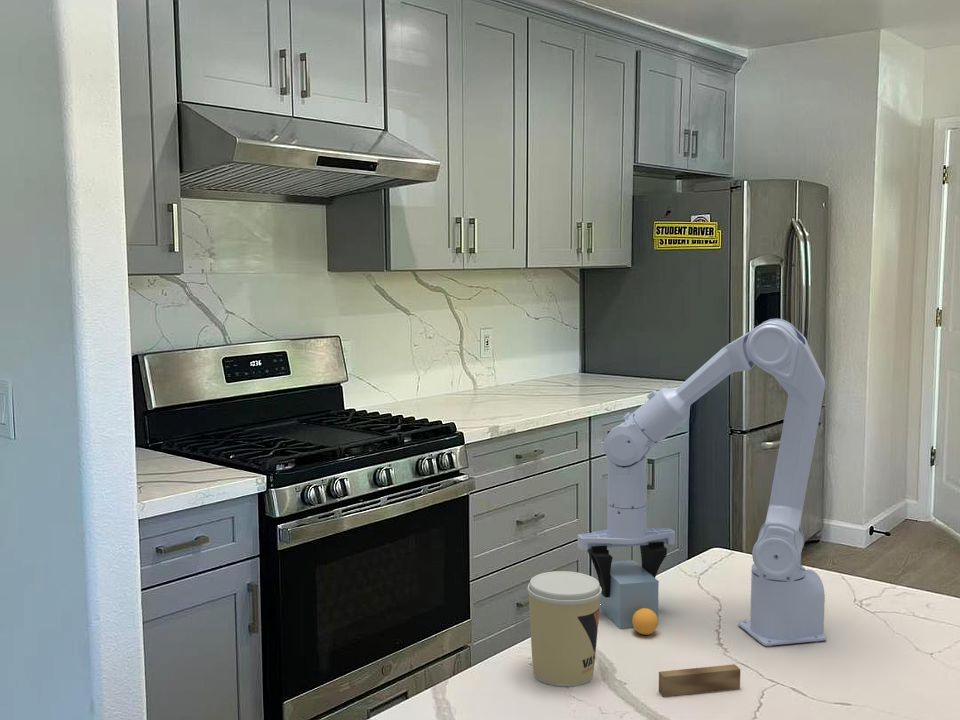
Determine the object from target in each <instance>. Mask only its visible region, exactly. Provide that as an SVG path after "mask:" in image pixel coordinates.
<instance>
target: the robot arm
mask: <svg viewBox="0 0 960 720" xmlns="http://www.w3.org/2000/svg"><path fill="white" fill-rule="evenodd" d="M755 366H757V367H758V368H759V369H762V370H763V371H764V372H766V373H768V374H769V375H771V376H773V377H774V379H775V380H776V381H777V382H778V383H779V385H780V386H781V387H782V388H783V390H784V391H785V392H786V393H787V401H786V405H785V406H786V407H785V412H784V416H783V417H784V418H783V423H782V429H781V430H782V431H781V434H780V441H779V447H778V451H777V452H778V453H777V457H776V464H775V468H774V469H775V470H774V475H773V481H772V486H771V492H770V498H769V503H768V507H767V513H766V516H765V517H766V518H765V522H764V523H763V524H762V525H761V527H760V528H759V531H758V535H757V540H756V542H755V543H754V545H753V548H752V552H751V553H752V555H751V556H752V561H753V564H752V565H751V575H750V577H751V578H750V581H751V582H750V584H751V585H750V613H749V614H750V619H749V620H742V621H738V624H737V625H738V626H739V628H742V629H743V630H744V631H745V632H746V633H748V634H749V635H750V636H751V637H752V638H753V639H755V640H756V641H758V643H760V644H762V645H763V646H765V647H768V646H769V647H770V646H778V645H789V644H799V643H811V642H821V641H822V642H823V641H826V640H827V636H826V635H825V634H824V631H825V630H824V629H825V628H824V626H825V602H826V600H825V599H826V598H825V597H826V596H825V595H826V594H825V589H824V588H825V587H824V584H823V582H822V581H823V580H822V579H821V577H820V576H819V573H817V572H816V571H815V570H812V569H806V567H804V566H803V565H802V563H801V562H802V550H803V549H804V546H805V535H804V533H803V530H802V518H803V517H802V516H803V510H804V504H805V500H806V493H807V488H808V482H809V478H810V477H809V476H810V472H811V466H812V461H813V455H814V450H815V443H816V439H817V434H818V428H819V422H820V416H821V411H822V405H823V400H824V394H825V389H826V381H825V377H824V375H823V374H822V371H821V369H820V367H819V364H818V363H817V361H816V358H815V356H814V354H813V352H812V350H811V347H810V345H809V343H808V340H807V338H806V337H805V336H804V334H803V333H801V332H800V330H798V328H796V327H795V326H794V324H792V323H791V322H789V321H787V320H785V319H783V318H782V319H781V318H770V319H768V320H767V319H766V320H765V321H762V323H760V324H759V325H757V326H756V327H754V328H753V329H752V330H750V331H748V332H746V333H745V334H743V335H741V336H740V337H738V338H736V339H734V340H733V341H730V343H728V344H727V345H725V346H723V347H722V348H721V349H720V350H719V351H717V353H715V354H714V355H713V356H712V357H711V358H710V359H709V360H707V361H706V362H705V363H704V364H703V365H702V366H701V367H700V368H698V369H697V370H696V371H695V372H694V373H692V375H690V376H689V377H687V379H685V381H684V382H683V383H681V384H680V385H679V386H678V387H677V388H669V387H662V388H660V390H658V391H657V390H656V389H654V390H652V391H651V392H650V393H648V394H647V396H646V397H647V400H646V401H645V402H644V403H642V405H640V407H638V408H637V409H635V410H634V411H633V412H632V413H631V412H627V413H626V414H625V415H624V416H623V418H622V419H623V420H624V422H622V423H620V424H618V425H616V426H614V427H612V428H611V430H609V432H608V433H607V435H606V437H605V438H604V442H603V450H604V454H605V456H606V457H607V458H608V462H607V466H608V467H607V469H608V470H607V487H606V488H607V490H606V491H607V493H606V494H607V495H606V496H607V503H606V504H607V507H606V508H607V509H606V511H607V515H606V526H607V527H606V529H604V530H599V531H598V530H597V531H593V532H588V533H581V534H577V548H578V549H579V550H580V551H582V552H584V551H585V552H586V551H587V553H588V555H589V557H590V560H591V562H592V565H593V566H594V567H593V568H594V570H595V572H596V577H597V581H598V580H599V584H600V586H601V589H602V593H601V594H602V595H603V596H604V597H610V571H611V563H612V562H613V556H612V555H611V554H610V549H609V548H620V547H622V548H623V547H635V546H636V547H637V546H638V547H639V548H640V557H641V567H643V568H644V569H645V570H646V571H647V572H648V573H650V574H651V575H652V576H653V577H654V578H655V579H656V576H657V574H658V572H659V569H660V567H661V565H662V563H663V562H664V560H665V559H666V557H667V554H668V549H667V548H668V547H666V546H665V544H666V545H668V546H672V545H673V546H674V545H676V532H675V530H673V529H672V528H653V527H652V528H648V527H647V500H648V499H647V497H648V496H647V495H648V493H647V491H648V489H647V487H648V485H647V484H648V482H647V481H648V475H647V474H648V473H647V456H646V455H647V454H648V453H649V452H650V450H651V448H652V447H653V446H654V447H655V446H658V444H660V443H661V442H662V441H664V440H665V439H666V438H667V437H668V436H669V435H670V434H672V433H674V431H676V430H678V428H680V427H681V426H682V425H683V424H684V423H685V422H686V421H688V420H689V419H690V415H691V414H690V412H691V411H690V410H691V405H693V403H695V402H697V400H699V399H700V398H701V397H703V396H704V395H705V394H707V393H708V392H709V391H710V390H712V389H713V388H714V387H716V386H717V385H718V384H720V383H721V381H724V379H726V378H727V377H728V376H730V375H731V374H732V373H737V372H746V371H751V370H753V368H754V367H755Z"/></svg>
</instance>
